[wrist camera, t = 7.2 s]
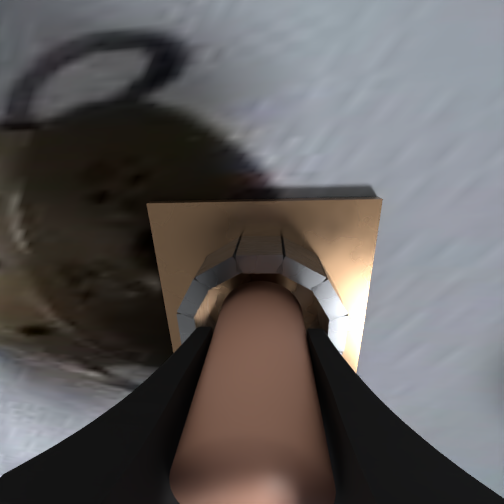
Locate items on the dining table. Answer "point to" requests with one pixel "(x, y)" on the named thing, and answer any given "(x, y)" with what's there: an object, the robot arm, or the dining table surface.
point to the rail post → (255, 410)
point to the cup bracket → (268, 259)
